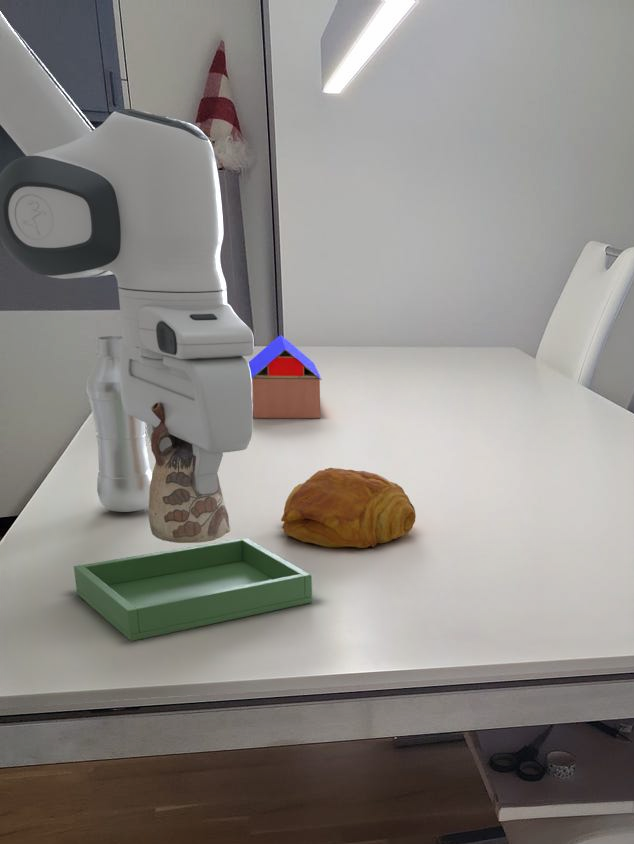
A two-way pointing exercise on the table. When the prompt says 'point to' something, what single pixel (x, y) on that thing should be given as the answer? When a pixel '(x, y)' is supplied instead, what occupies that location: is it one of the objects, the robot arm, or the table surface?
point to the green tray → (191, 587)
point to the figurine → (181, 494)
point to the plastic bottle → (117, 435)
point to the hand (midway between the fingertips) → (186, 482)
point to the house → (284, 382)
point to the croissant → (347, 509)
